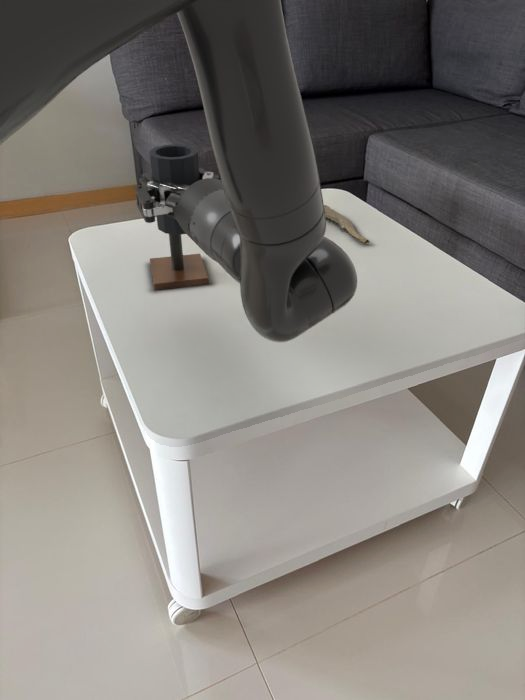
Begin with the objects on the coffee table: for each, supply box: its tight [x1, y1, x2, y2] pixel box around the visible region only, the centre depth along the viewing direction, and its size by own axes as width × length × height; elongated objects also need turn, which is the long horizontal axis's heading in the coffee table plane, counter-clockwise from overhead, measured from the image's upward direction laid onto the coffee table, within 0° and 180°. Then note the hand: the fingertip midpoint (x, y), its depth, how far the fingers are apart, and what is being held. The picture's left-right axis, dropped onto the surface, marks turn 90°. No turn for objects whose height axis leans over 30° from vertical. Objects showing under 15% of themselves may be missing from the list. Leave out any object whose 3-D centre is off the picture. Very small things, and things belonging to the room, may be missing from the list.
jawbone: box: [324, 204, 370, 244], centre depth 111 cm, size 9×20×2 cm, turn 48°
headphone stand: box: [149, 234, 209, 291], centre depth 90 cm, size 9×9×12 cm
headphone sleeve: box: [148, 143, 200, 235], centre depth 72 cm, size 6×6×10 cm
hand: (169, 176), depth 73 cm, fingers closed on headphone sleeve, 6 cm apart
